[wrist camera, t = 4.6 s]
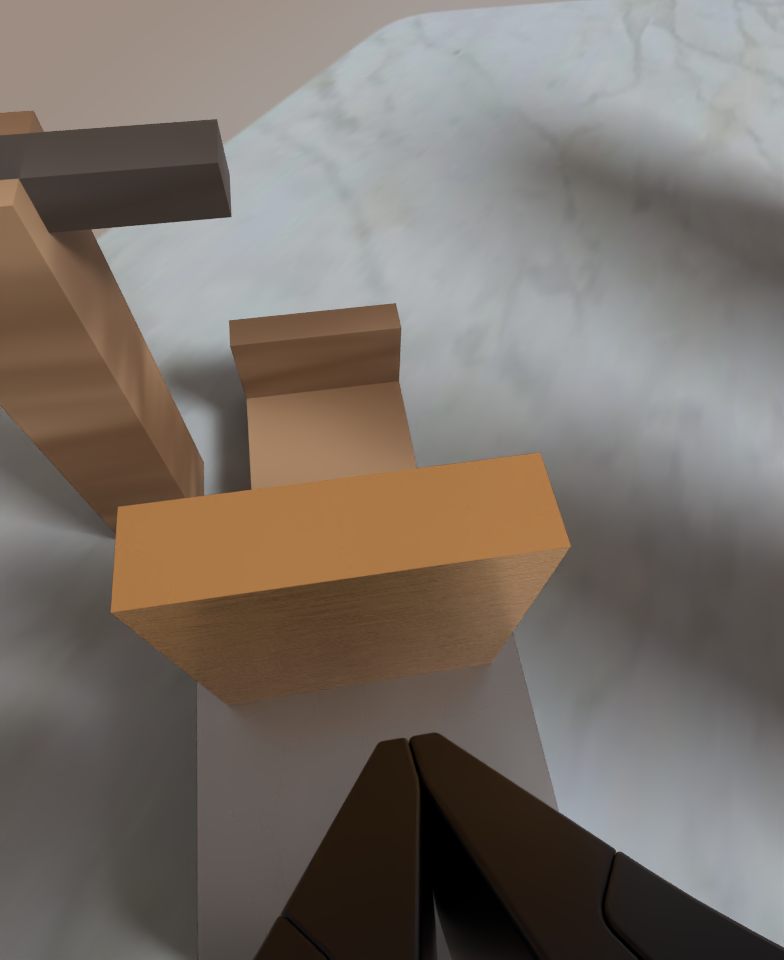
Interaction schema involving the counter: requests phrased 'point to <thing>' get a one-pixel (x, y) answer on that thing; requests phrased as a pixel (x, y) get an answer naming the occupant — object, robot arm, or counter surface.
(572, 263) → the counter surface
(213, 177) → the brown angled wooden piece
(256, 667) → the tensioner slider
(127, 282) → the counter surface
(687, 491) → the counter surface
